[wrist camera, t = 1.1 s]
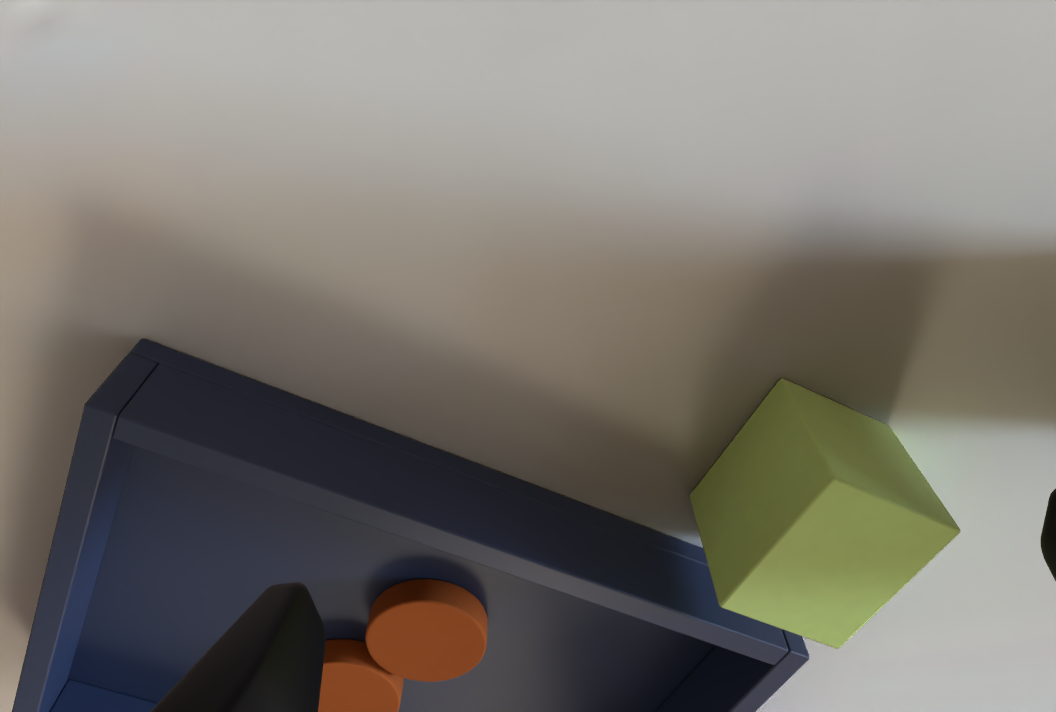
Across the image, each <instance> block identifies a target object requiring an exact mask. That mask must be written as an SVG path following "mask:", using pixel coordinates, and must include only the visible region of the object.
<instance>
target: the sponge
mask: <svg viewBox="0 0 1056 712" xmlns="http://www.w3.org/2000/svg"><path fill="white" fill-rule="evenodd" d="M690 500H691V504H692V508H693V511H694V515H695V519H696V522H697V526H698V530H699V533H700V537H701V541H702V544H703V548H704V552H705V555H706V559H707V563H708V566H709V570H710V574H711V577H712V581H713V585H714V588H715V592H716V596H717V599H718V603H719V605H720V607H722V608H724V609H727V610H730V611H733V612H736V613H738V614H741V615H744V616H747V617H750V618H752V619H755V620H758V621H761V622H764V623H766V624H769V625H772V626H775V627H778V628H780V629H783V630H786V631H789V632H792V633H794V634H797V635H800V636H803V637H806V638H808V639H811V640H814V641H817V642H820V643H822V644H825V645H828V646H831V647H834V648H836V649H838V648H840V647H841V646H842V645H843V644H844V643H845V642H846V641H847V640H848V639H849V638H850V637H852V636H853V635H854V634H855V633H856V632H857V631H858V630H859V629H860V628H861V627H862V626H863V625H864V624H865V623H866V622H867V621H868V620H869V619H870V618H871V617H872V616H873V615H874V614H876V613H877V612H878V611H879V610H880V609H881V608H882V607H883V606H884V605H885V604H886V603H887V602H888V601H889V600H890V599H891V598H892V597H893V596H894V595H895V594H896V593H897V592H898V591H899V590H901V589H902V588H903V587H904V586H905V585H906V584H907V583H908V582H909V581H910V580H911V579H912V578H913V577H914V576H915V575H916V574H917V573H918V572H919V571H920V570H921V569H922V568H923V567H925V566H926V565H927V564H928V563H929V562H930V561H931V560H932V559H933V558H934V557H935V556H936V555H937V554H938V553H939V552H940V551H941V550H942V549H943V548H944V547H945V546H946V545H947V544H949V543H950V542H951V541H952V540H953V539H954V538H955V537H956V536H957V535H958V534H959V533H960V528H959V527H958V526H957V524H956V523H955V521H954V520H953V518H952V517H951V515H950V514H949V512H948V511H947V509H946V508H945V507H944V505H943V504H942V502H941V501H940V499H939V498H938V496H937V495H936V493H935V492H934V490H933V489H932V488H931V486H930V485H929V483H928V482H927V480H926V479H925V477H924V476H923V474H922V473H921V471H920V470H919V469H918V467H917V466H916V464H915V463H914V461H913V460H912V458H911V457H910V455H909V454H908V452H907V451H906V450H905V448H904V447H903V445H902V444H901V442H900V441H899V439H898V438H897V436H896V435H895V433H894V432H893V431H892V429H891V428H890V426H888V425H886V424H884V423H881V422H879V421H877V420H875V419H872V418H870V417H868V416H866V415H863V414H861V413H859V412H857V411H855V410H852V409H850V408H848V407H846V406H843V405H841V404H839V403H837V402H834V401H832V400H830V399H828V398H825V397H823V396H821V395H819V394H817V393H814V392H812V391H810V390H808V389H805V388H803V387H801V386H799V385H796V384H794V383H792V382H790V381H787V380H785V379H783V378H781V379H780V380H779V381H778V382H777V384H776V385H775V386H774V387H773V389H772V390H771V391H770V393H769V394H768V395H767V397H766V398H765V399H764V400H763V402H762V403H761V404H760V406H759V407H758V408H757V409H756V411H755V412H754V413H753V415H752V416H751V417H750V418H749V420H748V421H747V422H746V424H745V425H744V426H743V427H742V429H741V430H740V431H739V433H738V434H737V435H736V436H735V438H734V439H733V440H732V442H731V443H730V444H729V445H728V447H727V448H726V449H725V451H724V452H723V453H722V454H721V456H720V457H719V458H718V460H717V461H716V462H715V463H714V465H713V466H712V467H711V469H710V470H709V471H708V472H707V474H706V475H705V476H704V478H703V479H702V480H701V481H700V483H699V484H698V485H697V487H696V488H695V489H694V490H693V492H692V493H691V494H690Z"/></svg>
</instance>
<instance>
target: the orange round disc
mask: <svg viewBox="0 0 1056 712" xmlns="http://www.w3.org/2000/svg"><path fill="white" fill-rule="evenodd" d="M403 681H404V678H403V677H400V676H397V675H395V674H393V673H390V672H389V671H387V670H385V669H384V668H383V667H381V666H380V665H379V664H378V663H377V662H376V661H375V660H374V659H373V658H372V656H371V655H370V653H369V651H368V649H367V646H366V642H362V641H357V640H350V639H333V640H326V646H325V655H324V664H323V673H322V682H321V690H320V699H319V708H318V712H398V710H399V707H400V702H401V696H402V689H403Z"/></svg>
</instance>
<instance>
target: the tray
mask: <svg viewBox="0 0 1056 712" xmlns="http://www.w3.org/2000/svg"><path fill="white" fill-rule="evenodd" d="M415 579H436V580H442V581H446V582H450V583H453V584H455V585H458V586H460V587H462V588H464V589H466V590H467V591H469V592H470V593H472V594H473V595H474V596H475V597H476V598H477V599H478V600H479V601H480V602H481V604H482V606H483V607H484V609H485V612H486V614H487V619H488V629H487V646H486V650H485V653H484V655H483V657H482V659H481V660H480V662H479V663H478V664H477V665H476V666H475V667H474V668H473V669H471V670H470V671H468V672H467V673H465V674H463V675H461V676H458V677H456V678H452V679H449V680H444V681H435V682H424V681H415V680H410V679H406V678H404V681H403V689H402V696H401V702H400V707H399V710H398V712H755V711H756V710H757V709H758V708H759V707H761V706H762V705H763V704H764V703H765V702H766V701H767V700H768V699H769V698H770V697H771V696H772V695H773V694H774V693H775V692H776V691H777V690H778V689H779V688H780V687H781V686H782V685H783V684H784V683H785V682H786V681H787V680H788V679H789V678H790V677H791V676H792V675H793V674H794V673H795V672H796V671H797V670H798V669H799V668H800V667H801V666H802V665H803V664H805V663H806V662H807V661H808V660H809V654H808V651H807V649H806V646H805V643H804V641H803V638H802V636H800V635H797V634H794V633H792V632H789V631H786V630H783V629H780V628H778V627H775V626H772V625H769V624H766V623H764V622H761V621H758V620H755V619H752V618H750V617H747V616H744V615H741V614H738V613H736V612H733V611H730V610H727V609H724V608H722V607H720V605H719V603H718V599H717V596H716V592H715V588H714V585H713V581H712V577H711V574H710V570H709V566H708V563H707V559H706V555H705V552H704V549H703V548H700V547H697V546H695V545H692V544H689V543H687V542H684V541H681V540H679V539H676V538H673V537H671V536H668V535H665V534H663V533H660V532H657V531H655V530H652V529H649V528H647V527H644V526H641V525H639V524H636V523H633V522H631V521H628V520H625V519H623V518H620V517H617V516H615V515H612V514H609V513H607V512H604V511H601V510H599V509H596V508H593V507H591V506H588V505H585V504H583V503H580V502H577V501H575V500H572V499H569V498H567V497H564V496H561V495H559V494H556V493H553V492H551V491H548V490H546V489H543V488H540V487H538V486H535V485H532V484H530V483H527V482H524V481H522V480H519V479H516V478H514V477H511V476H508V475H506V474H503V473H500V472H498V471H495V470H492V469H490V468H487V467H484V466H482V465H479V464H476V463H474V462H471V461H468V460H466V459H463V458H460V457H458V456H455V455H452V454H450V453H447V452H444V451H442V450H439V449H436V448H434V447H431V446H428V445H426V444H423V443H420V442H418V441H415V440H412V439H410V438H407V437H404V436H402V435H399V434H397V433H394V432H391V431H389V430H386V429H383V428H381V427H378V426H375V425H373V424H370V423H367V422H365V421H362V420H359V419H357V418H354V417H351V416H349V415H346V414H343V413H341V412H338V411H335V410H333V409H330V408H327V407H325V406H322V405H319V404H317V403H314V402H311V401H309V400H306V399H303V398H301V397H298V396H295V395H293V394H290V393H287V392H285V391H282V390H279V389H277V388H274V387H271V386H269V385H266V384H263V383H261V382H258V381H255V380H253V379H250V378H248V377H245V376H242V375H240V374H237V373H234V372H232V371H229V370H226V369H224V368H221V367H218V366H216V365H213V364H210V363H208V362H205V361H202V360H200V359H197V358H194V357H192V356H189V355H186V354H184V353H181V352H178V351H176V350H173V349H170V348H168V347H165V346H162V345H160V344H157V343H154V342H152V341H149V340H146V339H141V340H140V341H139V342H138V343H137V344H136V345H135V347H134V348H133V349H132V350H131V351H130V353H129V354H128V355H127V356H126V357H125V358H124V359H123V360H122V362H121V363H120V364H119V365H118V366H117V367H116V368H115V370H114V371H113V372H112V373H111V374H110V375H109V377H108V378H107V379H106V380H105V381H104V382H103V384H102V385H101V386H100V387H99V388H98V389H97V391H96V392H95V393H94V394H93V395H92V396H91V398H90V399H89V400H88V401H87V402H86V403H85V406H84V410H83V415H82V419H81V423H80V427H79V431H78V436H77V440H76V444H75V448H74V452H73V457H72V461H71V465H70V469H69V474H68V478H67V482H66V486H65V490H64V495H63V499H62V503H61V507H60V511H59V516H58V520H57V524H56V528H55V532H54V537H53V541H52V545H51V549H50V554H49V558H48V562H47V566H46V570H45V575H44V579H43V583H42V587H41V591H40V596H39V600H38V604H37V608H36V613H35V617H34V621H33V625H32V629H31V634H30V638H29V642H28V646H27V650H26V655H25V659H24V663H23V667H22V671H21V676H20V680H19V684H18V688H17V693H16V697H15V701H14V705H13V709H12V712H150V711H151V710H152V709H153V708H154V707H155V706H156V705H157V704H158V703H159V702H160V701H161V700H162V698H163V697H164V696H165V695H166V694H167V693H168V692H169V691H170V690H171V689H172V688H173V687H174V686H175V685H176V684H177V683H178V682H179V681H180V680H181V678H182V677H183V676H184V675H185V674H186V673H187V672H188V671H189V670H190V669H191V668H192V667H193V666H194V665H195V664H196V663H197V662H198V661H199V660H200V658H201V657H202V656H203V655H204V654H205V653H206V652H207V651H208V650H209V649H210V648H211V647H212V646H213V645H214V644H215V643H216V642H217V641H218V640H219V638H220V637H221V636H222V635H223V634H224V633H225V632H226V631H227V630H228V629H229V628H230V627H231V626H232V625H233V624H234V623H235V622H236V621H237V620H238V618H239V617H240V616H241V615H242V614H243V613H244V612H245V611H246V610H247V609H248V608H249V607H250V606H251V605H252V604H253V603H254V602H255V601H256V600H257V598H258V597H259V596H260V595H261V594H262V593H263V592H264V591H265V590H266V589H268V588H269V587H270V586H273V585H278V584H285V583H293V582H300V583H302V584H304V585H305V586H306V588H307V589H308V591H309V593H310V595H311V598H312V600H313V602H314V604H315V606H316V609H317V611H318V613H319V615H320V617H321V619H322V622H323V624H324V628H325V634H326V640H333V639H350V640H357V641H362V642H366V641H365V634H366V629H367V624H368V620H369V615H370V611H371V608H372V605H373V603H374V602H375V600H376V599H377V598H378V597H379V596H380V595H381V594H382V593H383V592H384V591H385V590H387V589H388V588H390V587H392V586H394V585H396V584H398V583H402V582H405V581H409V580H415Z"/></svg>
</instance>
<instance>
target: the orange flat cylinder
mask: <svg viewBox="0 0 1056 712" xmlns="http://www.w3.org/2000/svg"><path fill="white" fill-rule="evenodd" d="M487 629H488V619H487V614H486V612H485V609H484V607H483V606H482V604H481V602H480V601H479V600H478V599H477V598H476V597H475V596H474V595H473V594H472V593H470V592H469V591H467V590H466V589H464V588H462V587H460V586H458V585H455V584H453V583H450V582H446V581H442V580H436V579H415V580H409V581H405V582H402V583H398V584H396V585H394V586H392V587H390V588H388V589H387V590H385V591H384V592H383V593H382V594H381V595H380V596H379V597H378V598H377V599H376V600H375V602H374V603H373V605H372V608H371V611H370V615H369V620H368V624H367V629H366V634H365V641H366V646H367V649H368V651H369V653H370V655H371V656H372V658H373V659H374V660H375V661H376V662H377V663H378V664H379V665H380V666H381V667H383V668H384V669H385V670H387V671H389V672H390V673H393V674H395V675H397V676H400V677H403V678H406V679H410V680H415V681H424V682H435V681H444V680H449V679H452V678H456V677H458V676H461V675H463V674H465V673H467V672H468V671H470V670H471V669H473V668H474V667H475V666H476V665H477V664H478V663H479V662H480V660H481V659H482V657H483V655H484V653H485V650H486V646H487Z"/></svg>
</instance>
